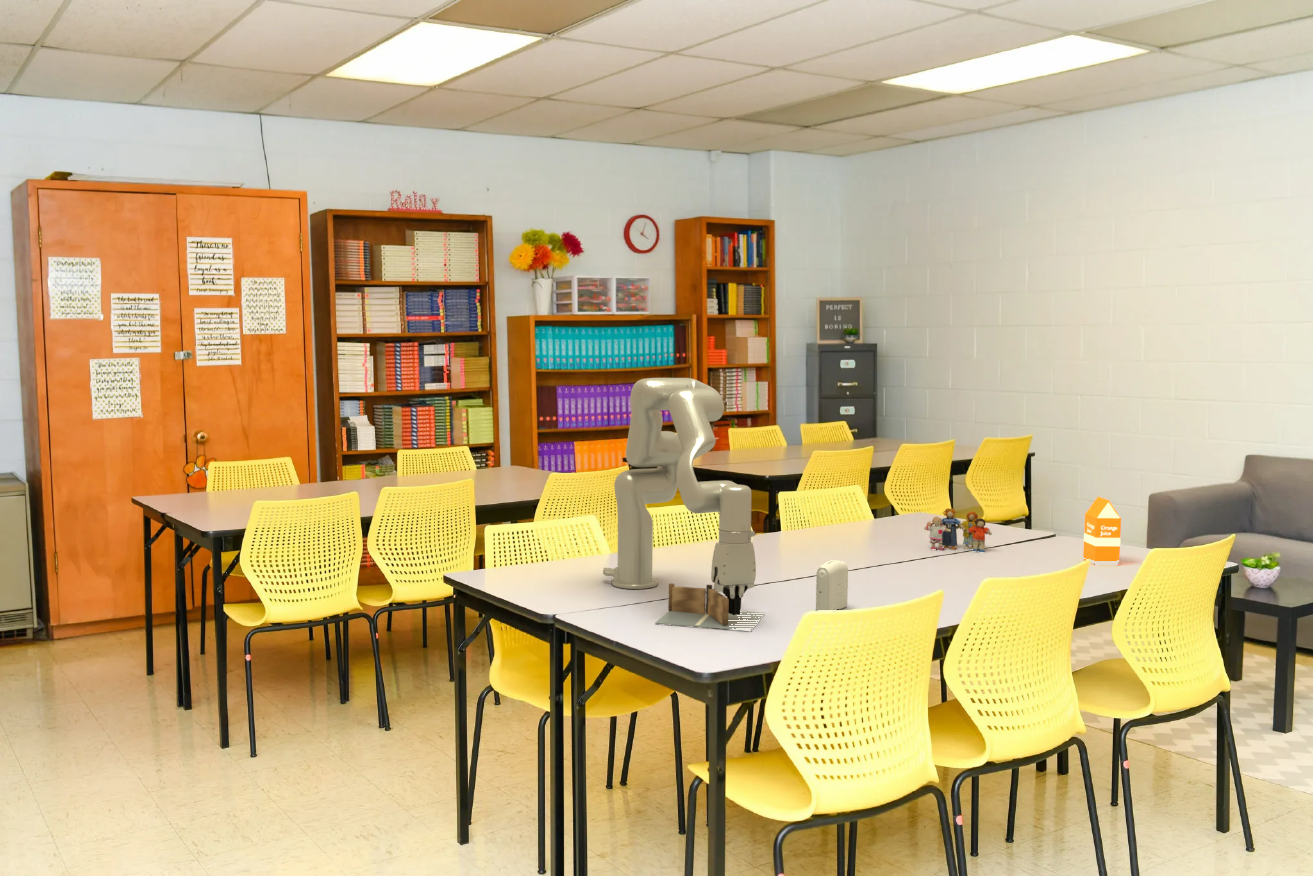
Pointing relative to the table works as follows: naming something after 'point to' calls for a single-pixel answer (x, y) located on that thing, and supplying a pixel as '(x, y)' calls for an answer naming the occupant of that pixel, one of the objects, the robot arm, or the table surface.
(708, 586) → the fence fixed
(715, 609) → the fence gate
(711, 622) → the card
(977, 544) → the doll family
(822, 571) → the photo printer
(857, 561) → the table surface
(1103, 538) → the orange juice
